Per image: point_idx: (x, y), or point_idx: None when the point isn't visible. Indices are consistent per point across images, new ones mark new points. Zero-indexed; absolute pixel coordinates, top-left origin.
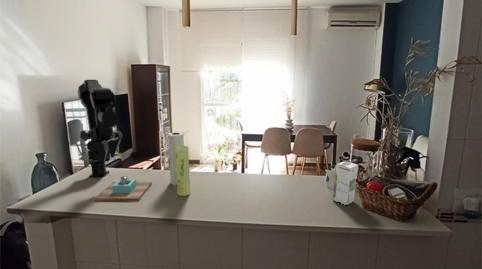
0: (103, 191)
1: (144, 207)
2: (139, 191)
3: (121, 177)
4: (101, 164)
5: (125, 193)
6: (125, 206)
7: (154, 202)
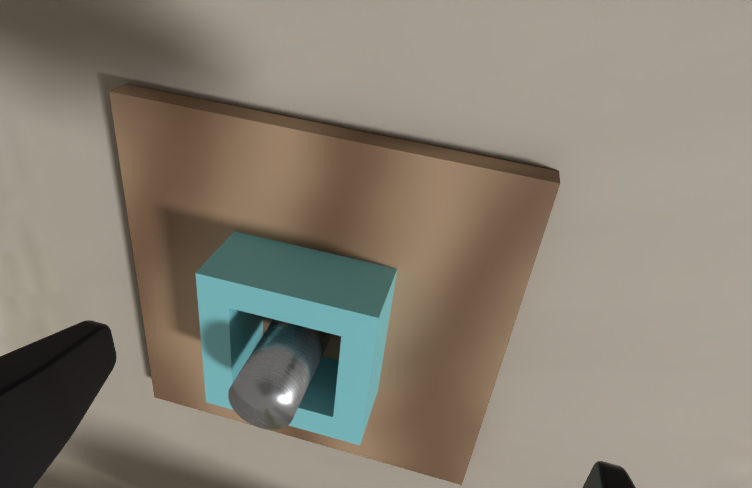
0: (267, 137)
1: (93, 405)
2: None
3: (262, 384)
4: (85, 332)
5: None
6: (83, 317)
7: (161, 450)
